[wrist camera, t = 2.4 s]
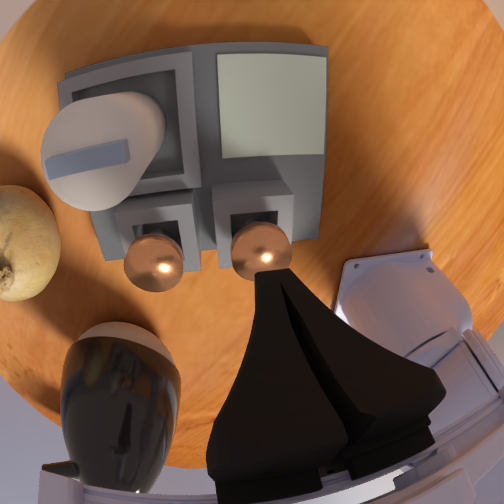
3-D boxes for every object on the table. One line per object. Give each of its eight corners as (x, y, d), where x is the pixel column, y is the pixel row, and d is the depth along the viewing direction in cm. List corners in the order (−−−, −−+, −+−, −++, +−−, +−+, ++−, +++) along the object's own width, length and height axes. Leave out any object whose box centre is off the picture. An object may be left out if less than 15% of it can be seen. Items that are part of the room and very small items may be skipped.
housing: (318, 48, 13) (347, 42, 10) (310, 227, 20) (331, 258, 17) (75, 73, 11) (44, 74, 8) (110, 248, 18) (95, 283, 15)
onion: (40, 282, 19) (7, 347, 13) (-20, 218, 15) (-69, 270, 9) (91, 228, 17) (52, 299, 11) (21, 147, 13) (-47, 190, 7)
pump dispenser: (71, 288, 19) (17, 470, 7) (192, 317, 23) (203, 508, 10) (78, 358, 24) (55, 493, 12) (171, 379, 28) (175, 515, 15)
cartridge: (164, 84, 12) (132, 86, 7) (171, 157, 14) (150, 208, 9) (91, 100, 12) (24, 119, 6) (102, 169, 14) (51, 224, 8)
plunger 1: (181, 210, 14) (177, 238, 12) (189, 256, 16) (187, 289, 13) (129, 217, 14) (116, 246, 12) (141, 261, 15) (132, 294, 13)
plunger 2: (279, 201, 15) (294, 227, 12) (278, 247, 16) (290, 277, 14) (224, 206, 14) (229, 233, 12) (228, 252, 16) (233, 284, 14)
